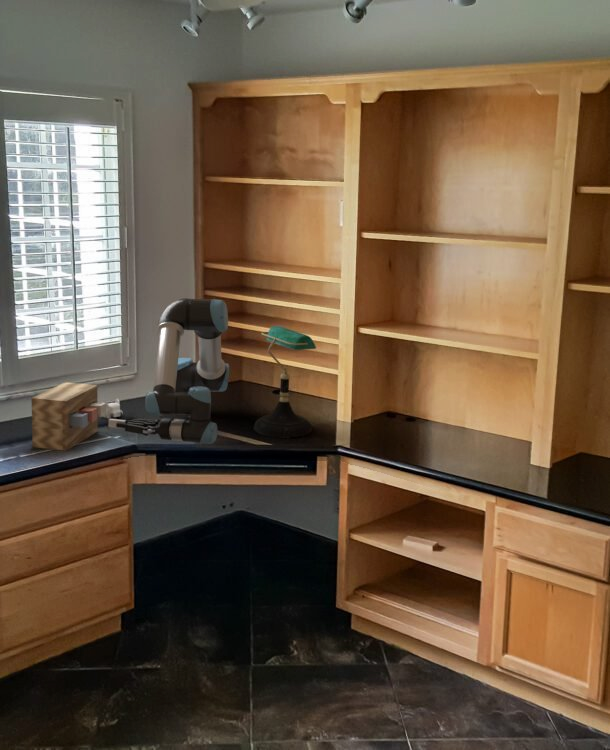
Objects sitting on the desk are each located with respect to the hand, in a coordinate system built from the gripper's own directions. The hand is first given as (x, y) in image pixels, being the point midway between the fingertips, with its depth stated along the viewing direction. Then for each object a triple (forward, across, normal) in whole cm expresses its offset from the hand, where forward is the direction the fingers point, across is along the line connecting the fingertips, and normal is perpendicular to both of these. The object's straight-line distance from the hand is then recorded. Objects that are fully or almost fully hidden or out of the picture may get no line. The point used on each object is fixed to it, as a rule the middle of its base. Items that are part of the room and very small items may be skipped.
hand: (109, 422), depth 309 cm
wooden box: (+21, +8, -10) cm, 24 cm away
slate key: (+15, 0, -2) cm, 15 cm away
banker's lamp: (-52, +48, -10) cm, 71 cm away
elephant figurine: (+17, +41, -10) cm, 45 cm away
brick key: (+15, +8, -2) cm, 17 cm away
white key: (+15, +16, -2) cm, 22 cm away
